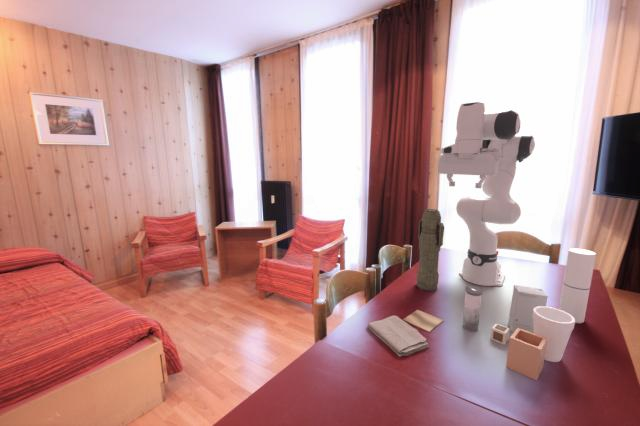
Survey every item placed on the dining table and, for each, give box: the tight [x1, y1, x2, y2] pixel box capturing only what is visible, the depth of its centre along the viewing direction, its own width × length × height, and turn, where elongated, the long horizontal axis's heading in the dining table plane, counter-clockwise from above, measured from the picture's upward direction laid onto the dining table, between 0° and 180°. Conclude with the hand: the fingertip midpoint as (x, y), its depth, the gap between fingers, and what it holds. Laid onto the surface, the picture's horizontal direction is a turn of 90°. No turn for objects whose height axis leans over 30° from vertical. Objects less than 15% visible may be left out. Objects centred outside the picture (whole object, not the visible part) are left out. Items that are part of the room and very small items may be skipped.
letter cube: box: [489, 323, 511, 346], centre depth 94 cm, size 4×4×4 cm
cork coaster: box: [402, 309, 444, 333], centre depth 105 cm, size 10×10×1 cm
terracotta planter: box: [505, 328, 548, 381], centre depth 81 cm, size 7×7×9 cm
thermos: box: [416, 208, 445, 292], centre depth 129 cm, size 9×12×35 cm
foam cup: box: [533, 305, 576, 363], centre depth 85 cm, size 10×9×13 cm
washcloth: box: [367, 314, 430, 358], centre depth 96 cm, size 12×18×3 cm, turn 26°
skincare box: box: [507, 284, 549, 334], centre depth 97 cm, size 8×6×15 cm
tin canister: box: [462, 285, 483, 332], centre depth 99 cm, size 5×5×14 cm
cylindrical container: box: [558, 247, 597, 324], centre depth 104 cm, size 7×7×25 cm
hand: (464, 187), depth 108 cm, fingers open, 8 cm apart
